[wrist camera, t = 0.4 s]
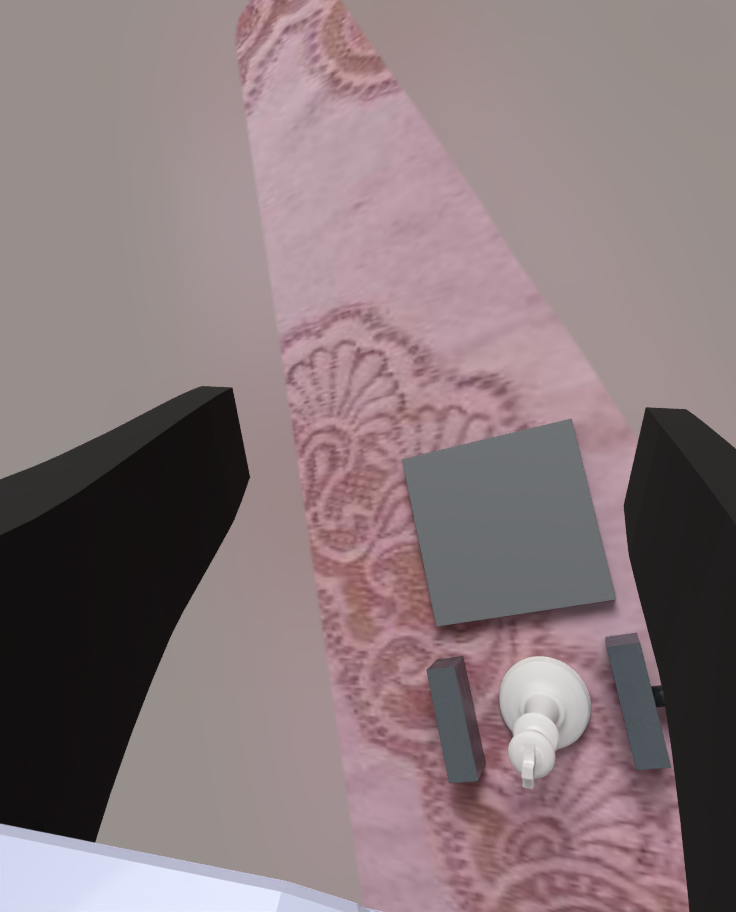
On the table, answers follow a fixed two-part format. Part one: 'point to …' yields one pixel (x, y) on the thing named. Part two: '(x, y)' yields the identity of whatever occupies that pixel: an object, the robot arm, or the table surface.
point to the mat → (507, 526)
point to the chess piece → (542, 713)
